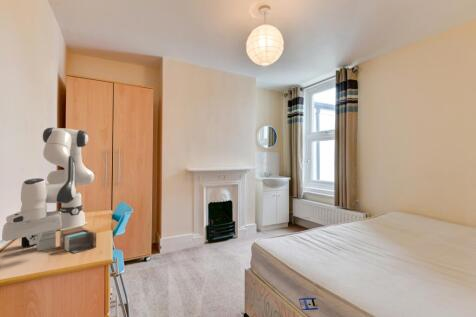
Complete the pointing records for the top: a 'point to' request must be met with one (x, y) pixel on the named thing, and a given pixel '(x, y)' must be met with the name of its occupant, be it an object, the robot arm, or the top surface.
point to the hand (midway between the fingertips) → (34, 243)
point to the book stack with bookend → (78, 239)
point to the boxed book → (73, 238)
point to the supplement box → (47, 240)
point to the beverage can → (27, 241)
